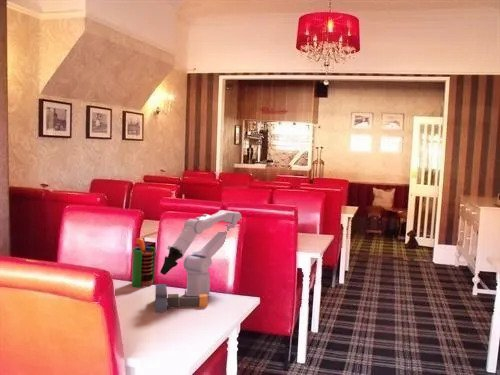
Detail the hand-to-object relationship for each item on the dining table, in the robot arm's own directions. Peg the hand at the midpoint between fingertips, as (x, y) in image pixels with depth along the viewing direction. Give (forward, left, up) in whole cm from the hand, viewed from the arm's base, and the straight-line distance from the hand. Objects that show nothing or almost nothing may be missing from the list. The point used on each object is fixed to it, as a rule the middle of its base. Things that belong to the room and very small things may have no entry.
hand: (164, 270), depth 183 cm
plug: (-9, +1, -14) cm, 16 cm away
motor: (+8, -29, -14) cm, 33 cm away
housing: (+1, +1, -14) cm, 14 cm away
